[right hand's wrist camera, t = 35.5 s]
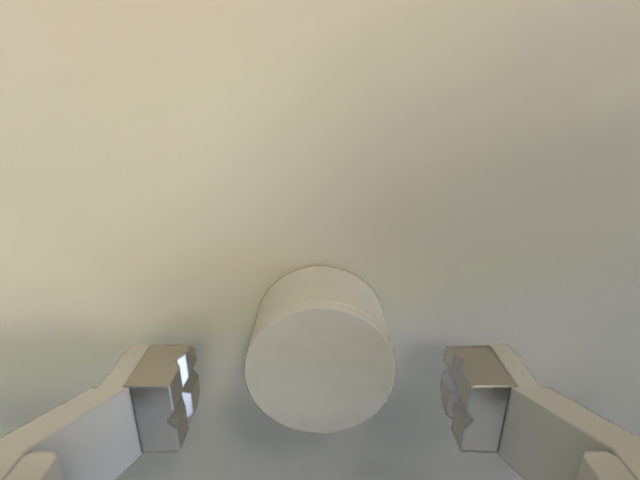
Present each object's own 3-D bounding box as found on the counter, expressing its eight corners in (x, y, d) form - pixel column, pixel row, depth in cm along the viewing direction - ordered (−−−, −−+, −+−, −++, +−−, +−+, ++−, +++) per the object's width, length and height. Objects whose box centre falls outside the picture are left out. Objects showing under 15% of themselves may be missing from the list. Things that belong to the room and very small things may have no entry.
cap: (239, 284, 12) (220, 330, 10) (365, 250, 12) (376, 290, 9) (280, 384, 13) (272, 447, 11) (394, 356, 13) (411, 415, 11)
